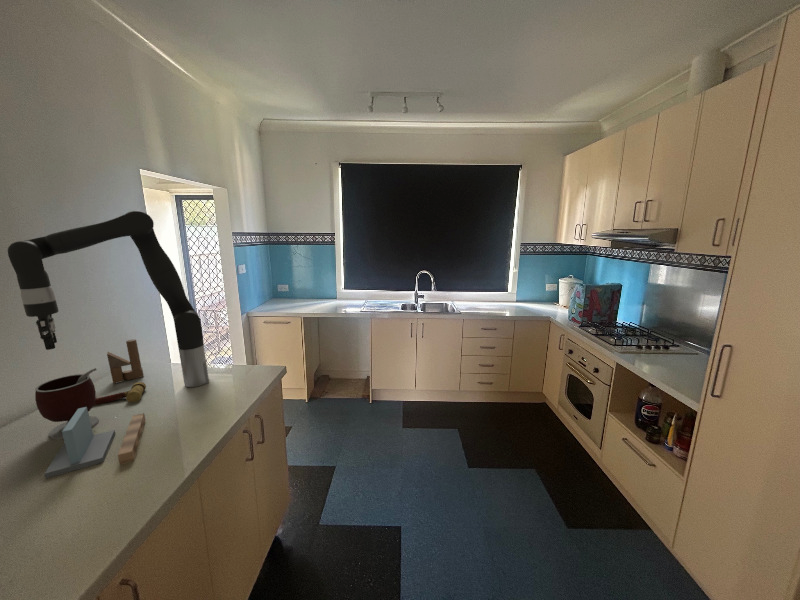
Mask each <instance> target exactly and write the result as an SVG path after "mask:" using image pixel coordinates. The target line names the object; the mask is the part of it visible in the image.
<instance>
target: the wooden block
mask: <svg viewBox="0 0 800 600" xmlns="http://www.w3.org/2000/svg"><path fill="white" fill-rule="evenodd" d="M125 343H126V348H127V353H128V358H129V360H127V359H125V358H123V357H121V356H118V355H116V354H114V353H112V352H110V351H107V352H106V357H107V361H108V365H109V369H110V376H111V378H112V384H117V383H116V382H118V383H122V382H124V379H125V380H127V381H129V380H130V379H131V380H135V379H139V378H143V377H144V370H143V367H142V363H141V358H140V353H139V349H138V347H139V346H138V343H137V339H135V338H134V339H133V338H132V339H128V340H126V342H125ZM124 366H130V369H128V370H125V371H124V370H123V369H122V367H124ZM121 381H122V382H121Z"/></svg>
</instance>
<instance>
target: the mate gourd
mask: <svg viewBox="0 0 800 600" xmlns="http://www.w3.org/2000/svg"><path fill="white" fill-rule="evenodd" d="M95 371H97V368H96V367H94V368H92V369H89V371H87V372H85V373H77V374H69V375H65V376H61V377H57V378H53V379H50V380H47V381H45V382H43V383H41V384H39V385H37V386H36V387H35V388H34V390H35V391H34V392H35V393H34V395H35V396H34V398H35V404H36V407H37V410H38V411H39V413H40V415H41V416H42V417H43V419H45V420H48V421H50V422H55V423H59V422H63V423H60V424H58V425H57V426H55V427H54V428H52V429H51V430H50V431H49V433H48V436H49V438H50V439H52V440H62V439H63V440H64V438H63V434H62V431H63V429H64V428H65V427H66V425H67V424H68V422H69V421H70V420H71V418H72V417H73V415H74V414H75V412H76V411H77V410H78V409H79V408H83V407H87V410H88V413H89V412H90V411H91V409H92V408H93V406H95V405H94V404H95V399H96V398H97V396H96V393H97V392H96V387H95V384H94V382H93V380H92V378H91V375H90V374H92V373H93V372H95ZM89 418H90V423H91V427H92V429H93V428H94V427H96V426H97V425H98V424H99V421H100V419H99V417H97V416H92V415H91V416H90V415H89Z"/></svg>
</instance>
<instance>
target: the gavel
mask: <svg viewBox="0 0 800 600" xmlns="http://www.w3.org/2000/svg"><path fill="white" fill-rule="evenodd" d="M146 387H147V386H146V383H144V382H143V381H139V382H135V383H133V385H132V387H131V389H130V390H128V391H123V392H117V393H112V394H109V395H105V396H101V397H96V399H95V404H94V405H93V406H97V405H103V404H106V403H110V402H115V401H119V400H123V399H126V401H127V402H128V403H135V402H138V401H140V399H141V398H142V396H143V393H144V392H145V391H146V390H147V389H146Z"/></svg>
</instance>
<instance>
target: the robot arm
mask: <svg viewBox="0 0 800 600" xmlns="http://www.w3.org/2000/svg"><path fill="white" fill-rule="evenodd" d="M154 223H155V222H154V220H153V218H152V216H150V215H149V214H148V213H146V212H144V211H142V210H130V211H128V212H126V213H124V214H122V215H120V216H118V217H115V218H113V219H112V218H111V219H109V220H106V221H103V222H99V223H94V224H89V225H85V226H79V227H75V228H70V229H65V230H61V231H57V232H53V233H49V234H48V235H46V236H40V237H35V238H31V239H26V240H19V241H15V242H12V243H11V244H10V245H9V246H8V247H7V256H8V259H9V261H10V264H11V266H12V268H13V270H14V272H15V274H16V280H17V283H18V288H19V291H20V298H21V302H22V304H23V305H22V306H23V309H24V313H25V315H26V317H30V318H33V317H37V320H36V321H35V325H36V327H37V330H38V333H39V336H40V339H41V340H42V341H43V344H44V348H45V350H47V351H49V350H53V349H56V344H57V343H58V340H57V339H58V338H57V336H56V324H55V318H54V317H53V315H54V314H58V312H59V307H58V302H57V299H56V295H55V292H54V289H53V288H52V285H51V281H50V277H49V275H48V272H47V271H46V270H45V266H44V262H43V260H44V259H46V258H50V257H53V256H57V255H61V254H62V255H63V254H67V253H71V252H75V251H79V250H82V249H85V248H89V247H92V246H95V245H98V244H101V243H104V242H107V241H110V240H114V239H120V238H124V237H130V238H131V240H132V241H133V243H134V244H135V246H136V248H137V250H138V252H139V254H140V257H141V260H142V262H143V265H144V268H145V269H146V272H147V274H148V276H149V278H150V280H151V282H152V283H153V285H154V287H155V289H156V290H157V291H158V293H159V294H160V296H161V297H162V298H163V299H164V301H165V302H166V304H167V306H168V307H169V310H170V312H171V313H170V314H171V316H172V318H173V323H174V329H175V335H176V342H177V347H178V353H179V360H180V366H181V372H182V377H183V383H184V387H185V388H196V387H201V386H203V385H206V384H209V383H210V380H209V379H210V376H209V370H208V364H207V359H206V353H205V346H204V336H203V327H202V321H201V318H200V316H199V313H198V312H197V311H196V310H195V308H194V307H193V306H192V304H191V302H190V300H189V299H188V297H187V295H186V292H185V289H184V286H183V282H182V280H181V278H180V275H179V273H178V271H177V269H176V267H175V265H174V264H173V261H172V260H171V258H170V257H169V256H168V254H167V253H166V251H165V250H164V249H163V247H162V245H161V244H160V242H159V239H158V238H157V235H156V233H155V229H154V227H155V226H154V225H155V224H154Z"/></svg>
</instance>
